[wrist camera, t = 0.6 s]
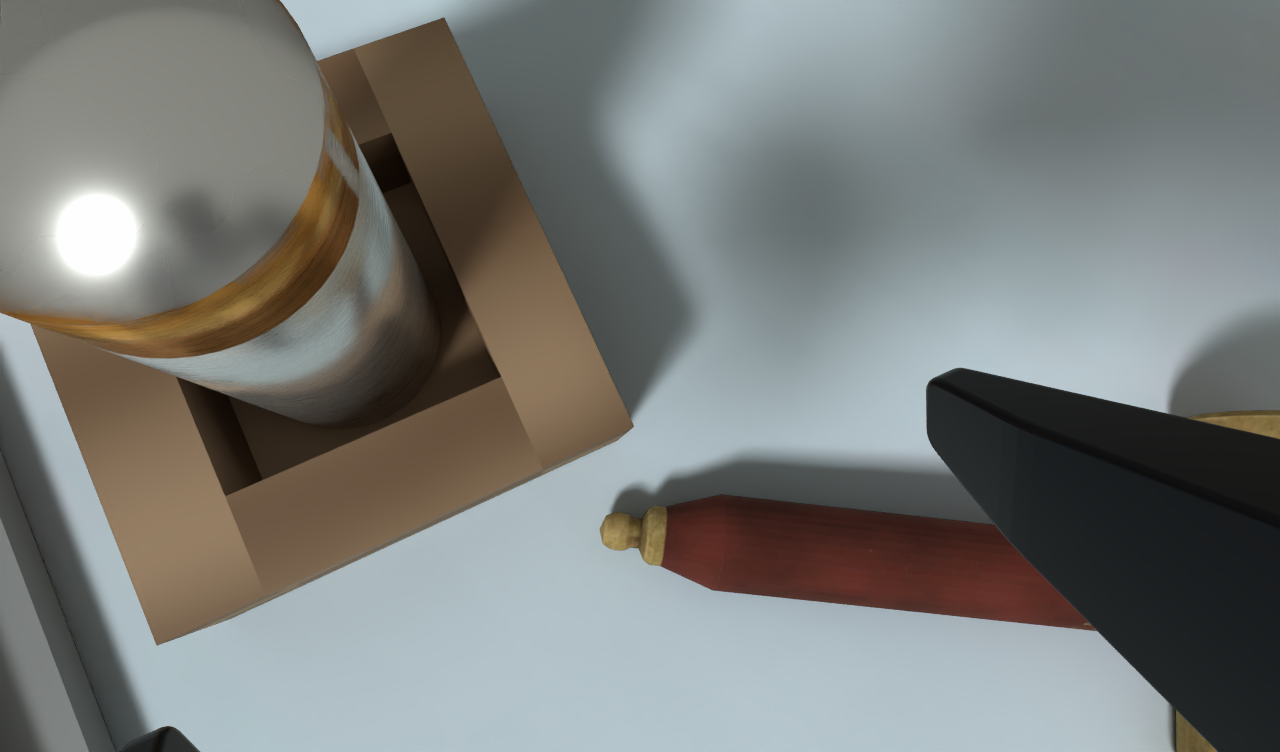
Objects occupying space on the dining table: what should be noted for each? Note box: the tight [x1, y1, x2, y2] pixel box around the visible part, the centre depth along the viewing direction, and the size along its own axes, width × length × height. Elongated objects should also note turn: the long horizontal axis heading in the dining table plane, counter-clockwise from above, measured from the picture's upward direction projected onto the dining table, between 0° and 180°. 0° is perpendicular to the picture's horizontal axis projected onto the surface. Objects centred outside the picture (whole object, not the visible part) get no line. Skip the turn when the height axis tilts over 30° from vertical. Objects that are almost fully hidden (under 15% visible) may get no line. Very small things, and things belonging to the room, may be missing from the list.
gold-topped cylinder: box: [0, 0, 441, 429], centre depth 15 cm, size 5×5×12 cm
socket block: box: [31, 18, 634, 645], centre depth 20 cm, size 11×11×4 cm
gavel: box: [600, 410, 1280, 752], centre depth 22 cm, size 21×5×10 cm
